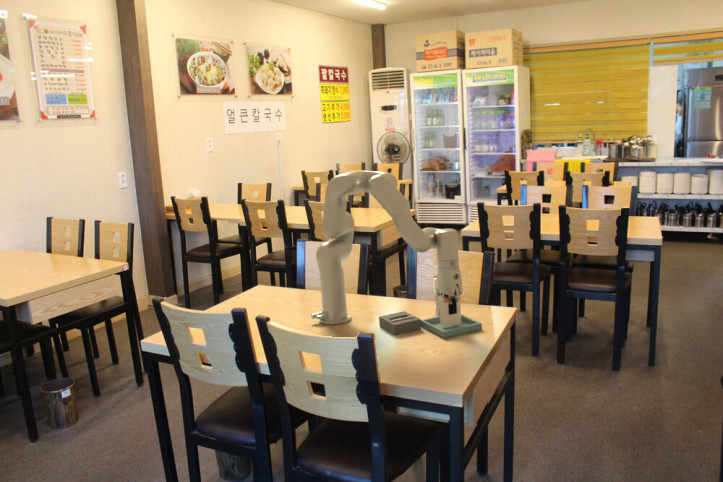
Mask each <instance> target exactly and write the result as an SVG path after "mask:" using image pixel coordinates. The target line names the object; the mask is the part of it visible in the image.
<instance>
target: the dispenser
mask: <svg viewBox="0 0 723 482" xmlns="http://www.w3.org/2000/svg"><path fill="white" fill-rule="evenodd" d="M421 320H422V319H421V318H419V317H417V316H415V315H413V314H412V313H409V312H407V311H406V310H405V311H400V312H399V311H397V312H393V313H390V314H385V315H380V316H378V323H379V328H381V329H382V330H385V331H386V332H388V333H389V334H391V335H393V336H396V337H397V336H399V335H405V334H408V333H412V332H416V331H420V330H421V331H422V327H421Z"/></svg>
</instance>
